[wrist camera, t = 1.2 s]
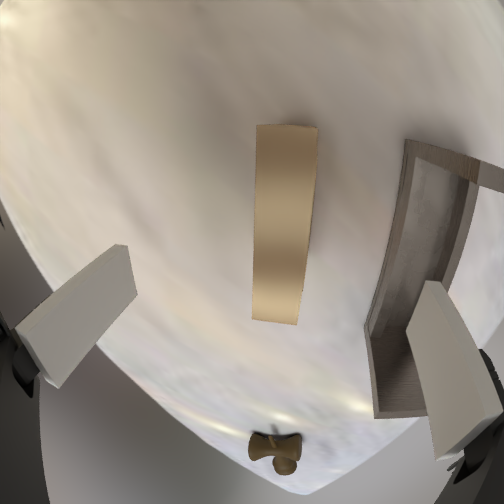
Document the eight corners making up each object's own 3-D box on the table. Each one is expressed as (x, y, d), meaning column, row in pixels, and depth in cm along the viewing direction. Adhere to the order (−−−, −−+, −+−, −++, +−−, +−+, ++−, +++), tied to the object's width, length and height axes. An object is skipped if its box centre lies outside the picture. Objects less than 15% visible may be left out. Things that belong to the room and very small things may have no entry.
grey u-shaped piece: (405, 138, 19) (480, 160, 9) (468, 156, 18) (553, 192, 8) (363, 327, 29) (374, 418, 18) (416, 330, 27) (440, 414, 17)
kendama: (267, 455, 51) (245, 421, 43) (308, 456, 49) (298, 421, 41) (263, 477, 46) (239, 448, 38) (305, 477, 44) (295, 450, 35)
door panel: (277, 124, 21) (254, 125, 13) (316, 127, 21) (320, 129, 12) (271, 252, 27) (250, 318, 18) (304, 255, 26) (298, 325, 18)
